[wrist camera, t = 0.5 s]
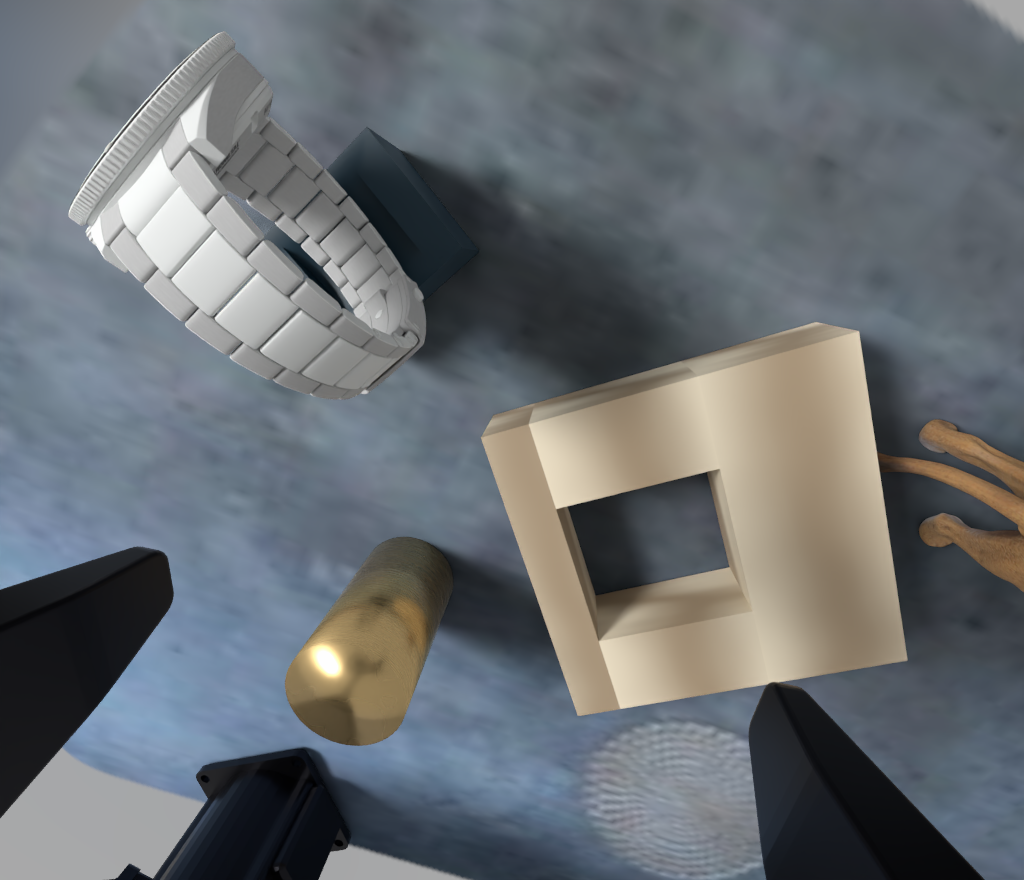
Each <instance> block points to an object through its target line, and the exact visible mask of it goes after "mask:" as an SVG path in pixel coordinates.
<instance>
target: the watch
mask: <svg viewBox="0 0 1024 880" xmlns="http://www.w3.org/2000/svg"><path fill="white" fill-rule="evenodd" d="M235 44H236V43H235V41H234V40H233V39H232V38H231V37H230V36H229V35H228V34H227V33H226V32H221V33H218V34H216V35H214V36H212V37H211V38H210V39H209V40H207V41H206V42H205V43H204V44H202V45H201V46H200V47H199V48H197V49H196V50H195V51H194V52H192V53H191V54H190V55H189V56H188V57H187V58H186V59H185V60H184V61H183V62H182V63H181V64H179V65H178V66H177V67H176V68H175V69H174V70H173V71H172V72H171V73H170V74H169V76H168V77H167V78H166V79H165V80H164V81H163V82H162V83H161V84H160V85H159V86H158V87H157V88H156V89H155V91H154V92H153V93H152V94H151V95H150V96H149V97H148V98H147V100H146V101H145V102H144V103H143V104H142V105H141V106H140V108H139V109H138V110H137V111H136V112H135V113H134V115H133V116H132V117H131V118H130V119H129V121H128V122H127V123H126V124H125V126H124V127H123V128H122V129H121V131H120V132H119V133H118V134H117V136H116V137H115V138H114V139H113V141H112V142H111V143H109V144H108V145H107V147H106V148H105V150H104V153H103V154H102V155H101V157H100V158H99V159H98V161H97V162H96V164H95V165H94V167H93V168H92V170H91V171H90V173H89V174H88V176H87V177H86V179H85V180H84V182H83V184H82V185H81V187H80V189H79V191H78V193H77V195H76V197H75V198H74V200H73V202H72V204H71V206H70V210H69V215H68V216H69V218H71V219H72V220H74V221H75V222H76V223H78V224H79V225H81V226H83V225H85V224H88V225H89V227H88V228H87V231H86V233H87V237H89V240H90V241H92V242H93V244H94V245H96V246H97V247H98V249H99V251H100V252H101V254H102V255H103V257H104V258H105V260H107V261H108V262H110V263H111V264H113V265H114V266H116V267H117V268H119V269H120V270H122V271H123V272H125V273H127V271H128V270H129V271H130V272H131V273H132V274H133V275H134V276H135V277H136V278H137V279H138V280H139V281H140V282H142V283H146V284H145V285H144V287H145V289H146V290H147V291H148V292H149V293H150V294H151V295H152V296H153V297H154V298H155V299H156V300H157V301H158V302H159V303H160V304H162V305H163V306H164V307H165V308H166V309H167V310H168V311H169V312H170V313H172V314H173V315H174V316H175V317H176V318H177V319H179V320H180V321H183V322H184V321H186V320H188V319H189V318H190V317H191V318H190V319H189V320H188V321H187V322H186V323H185V325H186V327H187V328H188V329H190V330H191V331H192V332H194V333H195V334H196V335H197V336H199V337H200V338H201V339H203V340H204V341H206V342H207V343H208V344H210V345H211V346H213V347H214V348H216V349H217V350H219V351H220V352H222V353H224V354H226V355H229V354H230V353H231V352H232V351H233V350H234V349H235V348H236V347H237V346H238V345H239V344H240V343H241V342H242V341H243V342H242V343H241V344H240V345H239V346H238V347H237V348H236V349H235V350H234V351H233V352H232V353H231V355H230V358H231V359H232V360H233V361H235V362H236V363H238V364H240V365H241V366H243V367H245V368H247V369H248V370H250V371H252V372H254V373H256V374H258V375H260V376H262V377H264V378H266V379H268V380H271V379H272V378H273V380H274V381H275V382H276V383H278V384H280V385H283V386H285V387H287V388H290V389H293V390H295V391H298V392H301V393H304V394H311V395H313V396H315V397H320V398H325V399H341V400H344V399H350V398H352V397H355V396H356V395H359V394H360V393H361V394H367V393H369V392H370V391H371V390H373V389H374V388H375V387H377V386H378V385H379V384H380V383H382V382H383V381H384V380H385V379H386V378H388V377H389V376H390V375H391V374H392V373H393V372H395V371H396V370H397V369H398V368H399V367H400V366H401V365H402V364H404V363H405V362H406V361H407V360H408V359H409V358H410V357H411V356H412V355H413V354H414V353H415V352H416V351H417V350H418V349H419V348H420V347H421V346H422V345H423V344H424V341H425V336H426V314H425V309H424V305H423V301H425V300H426V299H427V298H428V297H429V296H430V295H431V294H432V293H433V292H435V291H436V290H437V289H438V288H439V287H440V286H441V285H442V284H443V283H445V282H446V281H447V280H448V279H449V278H450V277H451V276H452V275H453V274H455V273H456V272H457V271H458V270H459V269H460V268H461V267H462V266H463V265H465V264H466V263H467V262H468V261H469V260H470V259H471V258H472V257H473V256H475V255H476V254H477V253H478V252H479V250H478V249H477V248H476V246H475V245H474V244H473V242H472V241H471V240H470V239H469V237H468V236H467V235H466V234H465V232H464V231H463V230H462V228H461V227H460V226H459V225H458V223H457V222H456V221H455V220H454V218H453V217H452V216H451V214H450V213H449V212H448V211H447V209H446V208H445V207H444V206H443V204H442V203H441V202H440V200H439V199H438V198H437V197H436V195H435V194H434V193H433V192H432V190H431V189H430V188H429V187H428V185H427V184H426V183H425V181H424V180H423V179H422V178H421V176H420V175H419V174H418V173H417V171H416V170H415V169H414V167H413V166H412V165H411V164H410V162H409V161H408V160H407V159H406V157H405V156H404V155H403V153H402V152H401V151H400V150H399V149H398V148H396V147H395V146H394V145H392V144H391V143H389V142H388V141H386V140H385V139H383V138H382V137H381V136H379V135H378V134H376V133H375V132H373V131H372V130H370V129H369V128H368V127H366V128H365V129H364V130H363V131H362V132H361V133H360V134H359V136H358V137H357V138H356V139H355V140H354V141H353V142H352V143H351V144H350V145H349V146H348V147H347V148H346V149H345V150H344V152H343V153H342V154H341V155H340V156H339V157H338V158H337V159H336V160H335V161H334V162H333V163H332V164H331V165H330V166H329V167H328V169H327V170H326V169H323V167H322V166H321V165H320V164H319V163H318V162H317V160H316V159H315V158H314V157H313V156H312V155H311V154H310V153H309V152H308V151H307V150H306V149H305V148H304V147H303V146H302V145H301V144H300V143H298V142H297V143H296V141H295V140H294V138H293V137H291V136H290V135H289V134H288V133H287V132H286V131H285V130H284V129H283V128H282V127H281V126H280V125H279V124H277V123H276V122H275V121H274V120H273V119H272V118H271V117H269V118H268V116H267V115H268V114H269V112H270V108H271V103H272V98H273V92H272V90H271V88H270V86H269V85H267V84H268V82H267V81H266V79H264V77H263V76H262V75H261V74H260V73H259V72H258V71H257V70H256V69H255V68H254V66H253V65H252V64H251V63H250V62H249V61H248V60H247V59H246V58H245V57H244V56H243V55H242V54H241V53H238V52H237V51H236V50H235V49H234V48H235ZM290 169H291V170H290ZM322 169H323V170H322ZM289 170H290V171H289ZM321 170H322V172H321V173H320V174H319V172H320V171H321ZM288 171H289V172H288ZM287 172H288V173H287ZM286 173H287V174H286ZM285 174H286V175H285ZM318 174H319V175H318ZM284 175H285V176H284ZM317 175H318V176H317ZM316 176H317V177H316ZM315 177H316V178H315ZM314 178H315V179H314ZM279 181H280V182H279ZM278 182H279V183H278ZM277 183H278V184H277ZM276 184H277V185H276ZM275 185H276V186H275ZM274 186H275V187H274ZM227 191H229V192H230V193H232V194H234V195H235V196H237V197H239V198H240V199H242V200H246V199H247V202H248V204H249V205H250V206H251V207H253V208H254V209H256V210H257V211H259V212H260V213H261V214H263V215H264V216H265V217H267V218H268V219H269V220H271V221H275V219H276V218H277V217H278V216H279V215H280V214H281V213H282V212H283V213H282V214H281V215H280V216H279V217H278V218H277V219H276V221H275V225H274V226H273V227H272V228H271V229H270V230H269V231H268V232H267V233H266V234H265V236H264V235H263V233H262V232H261V230H260V229H259V228H258V227H257V226H256V225H255V223H254V222H253V221H252V220H251V219H250V218H249V216H248V215H247V214H246V213H245V211H244V210H243V209H242V208H241V207H240V205H239V204H238V203H237V202H236V201H235V200H234V199H232V198H230V197H227V195H228V192H227ZM268 193H269V194H268ZM267 194H268V196H267ZM257 271H258V273H257V274H256V275H255V276H254V277H253V278H252V279H251V280H250V281H249V282H248V283H247V284H246V285H245V286H244V287H243V289H242V290H241V291H240V292H239V293H238V294H237V295H236V296H235V297H234V298H233V299H232V300H231V301H230V302H229V303H228V304H227V305H226V306H225V307H224V308H223V309H222V310H221V311H220V312H219V313H218V314H217V312H218V311H219V310H220V309H221V308H222V307H223V306H224V305H225V304H226V303H227V302H228V301H229V300H230V299H231V298H232V297H233V295H234V294H235V293H236V292H237V291H238V290H239V289H240V288H241V287H242V286H243V285H244V284H245V283H246V282H247V281H248V280H249V279H250V278H251V277H252V276H253V275H254V274H255V273H256V272H257ZM295 311H296V312H295ZM294 312H295V313H294ZM293 313H294V314H293ZM292 314H293V315H292ZM291 315H292V316H291ZM290 316H291V317H290ZM289 317H290V318H289ZM288 318H289V319H288ZM287 319H288V320H287ZM286 320H287V321H286ZM285 321H286V322H285ZM284 322H285V323H284Z"/></svg>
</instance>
